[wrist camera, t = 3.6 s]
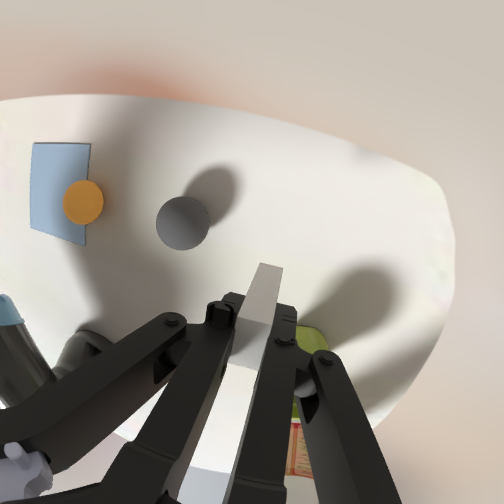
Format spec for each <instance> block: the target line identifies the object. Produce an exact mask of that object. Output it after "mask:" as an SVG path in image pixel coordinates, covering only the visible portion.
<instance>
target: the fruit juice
mask: <svg viewBox="0 0 504 504" xmlns="http://www.w3.org/2000/svg"><path fill="white" fill-rule="evenodd" d="M284 486H285V487H286V488H287V499H286V504H319V501H318V496H317V492H316V487H315V483H314V479H313V474H312V470H311V465H310V461H309V457H308V452H307V448H306V444H305V439H304V435H303V431H302V426H301V422H300V420H293V419H292V420H291V430H290V438H289V447H288V455H287V463H286V470H285V478H284Z"/></svg>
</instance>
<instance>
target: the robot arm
mask: <svg viewBox="0 0 504 504" xmlns="http://www.w3.org/2000/svg"><path fill="white" fill-rule="evenodd" d="M282 272H283V268H281V267H277V266H272V265H268V264H264V263H260V264H259V266H258V268H257V271H256V273H255V276H254V278H253V280H252V283H251V285H250V287H249V290H248V292H247V295H246V296H244V295H241V294H237V293H233V292H229V293H228V294H226V295H224V297H223V298H222V301H213V302H210V303H209V304H208V305H207V311H206V318H205V322H204V323H203V324H188V323H186V322H187V320H186V319H185V317H184V316H182V315H181V314H178V313H174V312H166V313H163V314H160V315H159V316H157V317H156V318H154V319H153V320H151V321H149V322H148V323H146V324H145V325H143V326H142V327H140V328H139V329H137V330H135V331H134V332H132V333H131V334H129V335H128V336H126V337H125V338H123V339H122V340H120V341H118V342H117V343H115V344H114V345H113V344H112V343H111V342H109V341H108V340H107V339H105V338H104V337H102V336H100V335H98V334H96V333H94V332H91V331H85V330H83V331H78V332H76V333H75V334H74V335H73V336H72V337H71V338H69V340H68V341H67V342H66V344H65V346H64V349H63V351H62V353H61V355H60V357H59V359H58V362H57V364H56V365H55V367H54V368H53V369H52V370H51V368H50V366H49V365H48V363H47V362H46V360H45V359H44V357H43V356H42V354H41V352H40V351H39V349H38V347H37V346H36V344H35V342H34V341H33V339H32V337H31V335H30V334H29V332H28V330H27V328H26V326H25V324H24V322H25V321H24V319H23V318H21V316H20V314H19V312H18V311H17V309H16V307H15V305H14V303H13V301H12V300H11V298H10V297H9V296H7V295H5V294H0V504H181V503H180V502H178V501H177V497H178V493H179V490H180V487H181V484H182V481H183V479H184V476H185V474H186V471H187V469H188V467H189V464H190V462H191V459H192V457H193V454H194V451H195V449H196V446H197V444H198V441H199V439H200V436H201V434H202V431H203V429H204V426H205V423H206V421H207V418H208V416H209V413H210V411H211V408H212V405H213V403H214V400H215V398H216V395H217V392H218V390H219V387H220V385H221V382H222V379H223V377H224V374H225V371H226V367H227V362H228V363H231V364H234V365H238V366H242V367H246V368H250V369H254V370H258V375H257V378H256V381H255V385H254V388H253V389H254V390H253V394H252V398H251V402H250V406H249V410H248V414H247V417H246V421H245V425H244V429H243V433H242V436H241V440H240V444H239V447H238V451H237V455H236V458H235V462H234V465H233V469H232V472H231V476H230V479H229V483H228V486H227V490H226V493H225V496H224V499H223V502H222V504H286V499H287V488H286V487H285V486H284V478H285V470H286V463H287V455H288V447H289V438H290V430H291V420H292V410H293V400H294V395H295V401H296V405H297V409H298V414H299V418H300V422H301V426H302V431H303V435H304V439H305V444H306V448H307V452H308V457H309V461H310V465H311V470H312V474H313V479H314V483H315V487H316V492H317V496H318V501H319V504H402V502H401V500H400V497H399V494H398V492H397V489H396V487H395V484H394V482H393V479H392V477H391V474H390V472H389V469H388V467H387V465H386V462H385V459H384V457H383V454H382V452H381V450H380V447H379V445H378V442H377V440H376V438H375V435H374V433H373V431H372V428H371V426H370V424H369V421H368V419H367V417H366V414H365V412H364V410H363V407H362V405H361V403H360V401H359V398H358V396H357V394H356V392H355V389H354V387H353V385H352V383H351V381H350V378H349V376H348V374H347V372H346V370H345V367H344V365H343V363H342V361H341V359H340V358H339V356H338V355H336V354H335V353H333V352H331V351H329V350H317V351H315V352H314V353H313V354H311V353H308V352H306V351H304V350H303V349H301V348H300V347H299V346H298V342H297V340H296V325H297V311H296V310H295V308H294V307H293V306H288V305H284V304H280V303H277V298H278V293H279V288H280V283H281V277H282ZM228 360H229V361H228ZM167 383H168V384H167ZM166 384H167V386H166V387H165V389H164V391H163V393H162V394H161V396H160V398H159V399H158V401H157V403H156V404H155V406H154V408H153V409H152V411H151V413H150V415H149V416H148V418H147V420H146V421H145V423H144V425H143V426H142V428H141V430H140V432H139V433H138V435H137V437H136V438H135V440H133V441H131V442H127V443H125V444H124V445H123V447H122V448H121V450H120V451H119V453H118V455H117V456H116V458H115V459H114V461H113V463H112V464H111V466H110V468H109V469H108V471H107V473H106V475H105V476H104V478H103V480H102V481H101V482H99V483H94V484H90V485H87V486H83V487H80V488H76V489H72V490H68V491H64V492H59V493H55V494H50V495H45V496H39V495H40V494H41V493H42V492H43V491H45V490H49V489H51V488H52V481H53V475H54V474H57V473H60V472H61V471H64V470H67V469H68V468H69V467H70V466H72V465H73V464H75V463H76V462H77V461H78V460H80V459H81V458H82V457H83V456H85V455H86V454H87V453H88V452H89V451H91V450H92V449H93V448H94V447H95V446H97V445H98V444H99V443H100V442H101V441H102V440H103V439H105V438H106V437H107V436H108V435H109V434H111V433H112V432H113V431H114V430H115V429H116V428H118V427H119V426H120V425H121V424H122V423H123V422H124V421H126V420H127V419H128V418H129V417H130V416H131V415H132V414H133V413H135V412H136V411H137V410H138V409H139V408H140V407H141V406H142V405H144V404H145V403H146V402H147V401H148V400H149V399H150V398H151V397H152V396H154V395H155V394H156V393H157V392H158V391H159V390H160V389H161V388H162V387H163V386H164V385H166Z"/></svg>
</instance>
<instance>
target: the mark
mask: <svg viewBox="0 0 504 504" xmlns="http://www.w3.org/2000/svg"><path fill="white" fill-rule="evenodd" d="M90 146H91V145H88V144H33V147H32V158H31V173H30V226H31V228H32V229H35V230H38V231H41V232H44V233H47V234H50V235H53V236H56V237H59V238H62V239H65V240H68V241H71V242H74V243H77V244H80V245H83V246H85V225H79V224H75V223H73V222H72V221H70V220H69V219H68V218H67V216H66V215H65V213H64V210H63V197H64V194H65V192H66V190H67V189H68V188H69V187H70V186H71V185H72V184H73V183H75V182H77V181H80V180H87V174H88V163H89V154H90Z"/></svg>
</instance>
